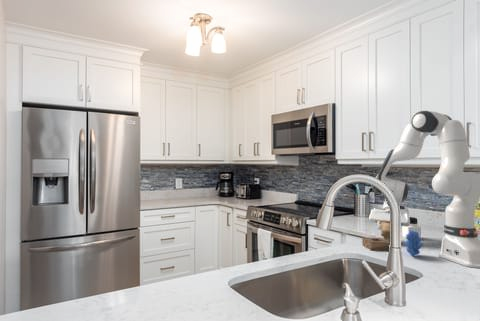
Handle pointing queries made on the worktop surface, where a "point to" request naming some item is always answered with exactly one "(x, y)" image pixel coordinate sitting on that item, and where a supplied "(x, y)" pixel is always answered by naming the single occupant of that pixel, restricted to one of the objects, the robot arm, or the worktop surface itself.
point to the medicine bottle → (411, 228)
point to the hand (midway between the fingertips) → (386, 229)
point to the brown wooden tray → (376, 244)
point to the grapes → (413, 243)
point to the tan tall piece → (385, 230)
